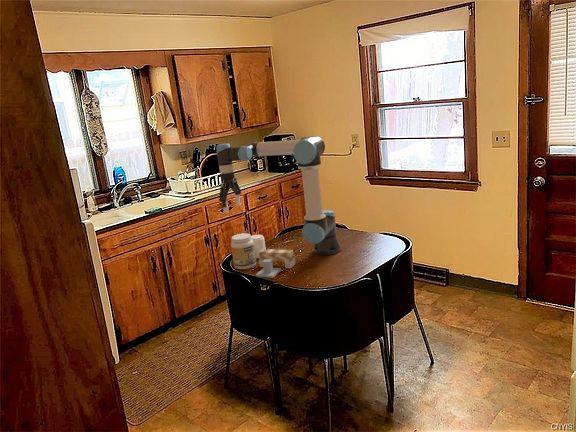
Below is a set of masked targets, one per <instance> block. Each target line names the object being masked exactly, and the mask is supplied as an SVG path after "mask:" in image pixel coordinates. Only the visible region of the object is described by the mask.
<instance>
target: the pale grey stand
mask: <svg viewBox="0 0 576 432" xmlns="http://www.w3.org/2000/svg"><path fill="white" fill-rule="evenodd" d="M262 263H263V267H262V268H261V270H259V271H258V272H257V273H256V274H255V278H256V277H257V278H271V279H274V278H275V277H276V276H277V275H278V274H279V273H280V272H281V271H282V268H281V267H274V265H273V260H267V259H265V260H264V261H262Z"/></svg>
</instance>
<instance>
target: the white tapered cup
mask: <svg viewBox="0 0 576 432" xmlns="http://www.w3.org/2000/svg"><path fill="white" fill-rule="evenodd" d="M251 239H252V240H253V242H254V250H255V257H256V259H260V257H259V251H261V250H262V249H267V248H266V242H265V236H264V235H263V234H253V235H251Z"/></svg>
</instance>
